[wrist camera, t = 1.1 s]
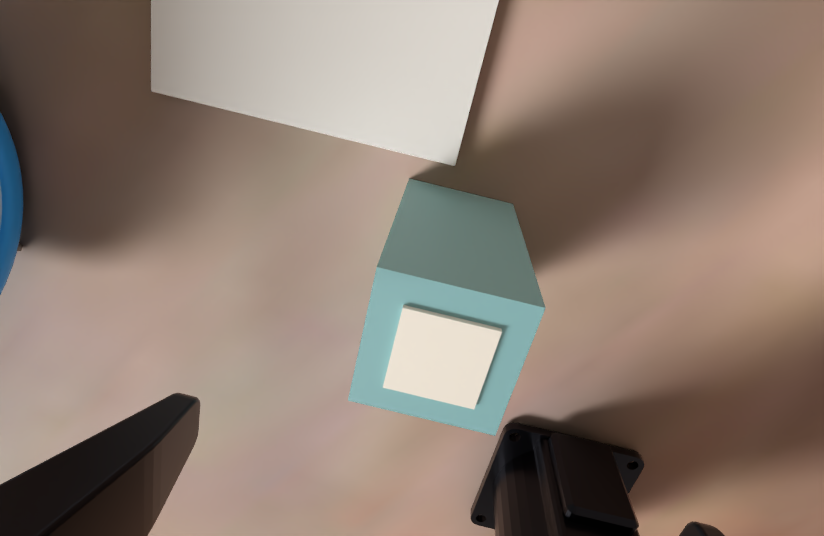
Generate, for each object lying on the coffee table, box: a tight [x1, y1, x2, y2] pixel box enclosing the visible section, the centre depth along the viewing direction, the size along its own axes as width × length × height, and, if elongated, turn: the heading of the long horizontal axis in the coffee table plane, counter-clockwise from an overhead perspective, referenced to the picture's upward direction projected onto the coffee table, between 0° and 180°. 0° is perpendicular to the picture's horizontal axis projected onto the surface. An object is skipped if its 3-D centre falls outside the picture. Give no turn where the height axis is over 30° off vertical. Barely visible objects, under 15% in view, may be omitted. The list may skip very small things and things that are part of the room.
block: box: [348, 178, 545, 436], centre depth 16 cm, size 4×4×8 cm
